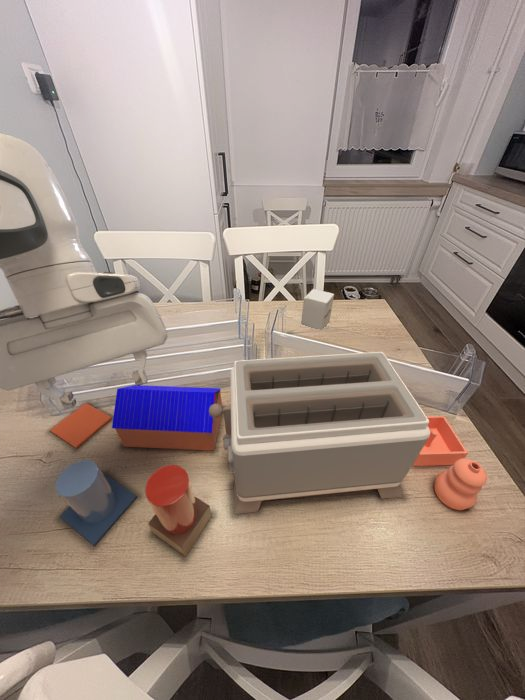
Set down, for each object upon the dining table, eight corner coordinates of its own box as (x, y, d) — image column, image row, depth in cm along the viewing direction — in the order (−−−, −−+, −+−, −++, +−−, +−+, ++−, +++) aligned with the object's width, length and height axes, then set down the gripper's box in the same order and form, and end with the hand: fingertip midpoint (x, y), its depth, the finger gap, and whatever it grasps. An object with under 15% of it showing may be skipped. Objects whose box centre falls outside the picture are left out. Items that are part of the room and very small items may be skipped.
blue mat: (94, 546, 48) (93, 545, 47) (60, 517, 51) (59, 516, 51) (137, 497, 54) (136, 495, 53) (104, 474, 57) (103, 473, 57)
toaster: (218, 426, 66) (208, 357, 54) (364, 414, 69) (387, 346, 56) (216, 516, 51) (202, 450, 39) (402, 496, 54) (446, 429, 41)
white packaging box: (320, 338, 93) (326, 303, 85) (299, 331, 96) (303, 297, 88) (329, 327, 98) (335, 293, 90) (308, 321, 101) (312, 287, 93)
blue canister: (95, 531, 49) (71, 504, 43) (72, 512, 51) (46, 484, 45) (124, 498, 53) (106, 470, 47) (102, 483, 55) (81, 453, 49)
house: (215, 452, 61) (209, 416, 54) (121, 447, 62) (103, 411, 55) (224, 407, 70) (219, 372, 63) (142, 404, 71) (129, 368, 64)
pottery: (395, 428, 66) (409, 399, 60) (436, 427, 66) (454, 398, 60) (435, 512, 52) (458, 485, 46) (487, 511, 52) (517, 484, 46)
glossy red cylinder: (181, 542, 45) (168, 514, 38) (152, 522, 47) (135, 492, 41) (205, 506, 49) (197, 476, 42) (177, 489, 51) (166, 458, 45)
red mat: (76, 448, 62) (75, 447, 61) (50, 431, 65) (49, 430, 65) (112, 418, 68) (111, 417, 67) (86, 404, 71) (85, 402, 71)
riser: (185, 556, 47) (181, 547, 44) (153, 533, 49) (147, 523, 47) (212, 515, 51) (209, 505, 49) (181, 496, 54) (177, 485, 51)
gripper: (-57, 321, 30) (8, 434, 34) (144, 273, 35) (181, 377, 39) (-20, 315, 36) (31, 412, 40) (148, 274, 41) (179, 365, 45)
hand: (106, 395), depth 39 cm, fingers open, 8 cm apart
